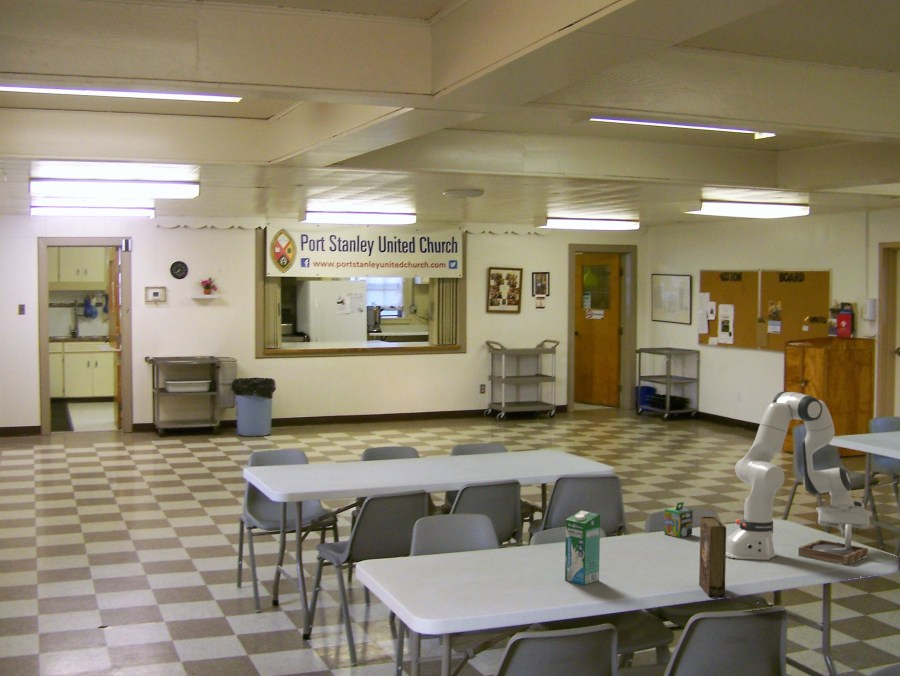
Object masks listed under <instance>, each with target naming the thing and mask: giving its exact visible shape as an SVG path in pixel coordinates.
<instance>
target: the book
mask: <svg viewBox="0 0 900 676" xmlns="http://www.w3.org/2000/svg"><path fill="white" fill-rule="evenodd" d="M699 533H700V534H699V572H698V573H699V574H698V576H699V578H698V582H699V583H698V585H699V587H700V588H701V589H702V590H703V592H704V593H705V594H706V595H707V596H708V597H711V596H716V597H717V596H718V597H725V596H726V567H727V565H726V560H727V559H726V558H727V557H726V538H727V526H726V525H725V524H724V523H722V521H720V520H719V519H718V518H717V517H716V516H701V517H700V530H699Z"/></svg>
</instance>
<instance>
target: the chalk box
mask: <svg viewBox="0 0 900 676" xmlns="http://www.w3.org/2000/svg"><path fill="white" fill-rule="evenodd" d="M684 503H685V502H684V501H681V502H677V504H676V506H672V507H669V508H665V509H664V529H663V531H664V533H665V534H664V533H663V534H664V535H666V534H668V535H667V536H670V535H671V536H670V537H674V536H676V538H678V537H681V538H685V537H684V536H686V537H689V536H688V535H691V534H692V535H693V519H694V518H693V517H694V516H693V513H694V510H693V509H689V508H685V507H684ZM692 535H691V536H692Z"/></svg>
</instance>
